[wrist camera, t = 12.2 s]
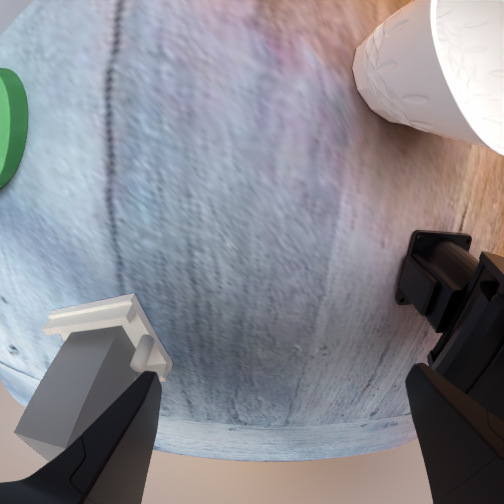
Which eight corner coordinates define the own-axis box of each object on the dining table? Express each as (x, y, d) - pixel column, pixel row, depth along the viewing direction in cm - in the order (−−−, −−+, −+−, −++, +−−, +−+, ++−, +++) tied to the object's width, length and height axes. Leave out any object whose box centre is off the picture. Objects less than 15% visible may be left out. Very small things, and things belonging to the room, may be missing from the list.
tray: (136, 292, 21) (118, 326, 18) (175, 362, 25) (166, 398, 21) (51, 310, 22) (30, 337, 18) (91, 369, 26) (78, 397, 22)
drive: (121, 324, 21) (65, 448, 11) (142, 358, 23) (104, 477, 12) (72, 331, 22) (14, 432, 11) (93, 361, 24) (49, 461, 13)
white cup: (353, 8, 13) (431, -56, 4) (447, 56, 13) (547, 45, 4) (331, 109, 16) (418, 104, 7) (430, 148, 17) (535, 184, 8)
